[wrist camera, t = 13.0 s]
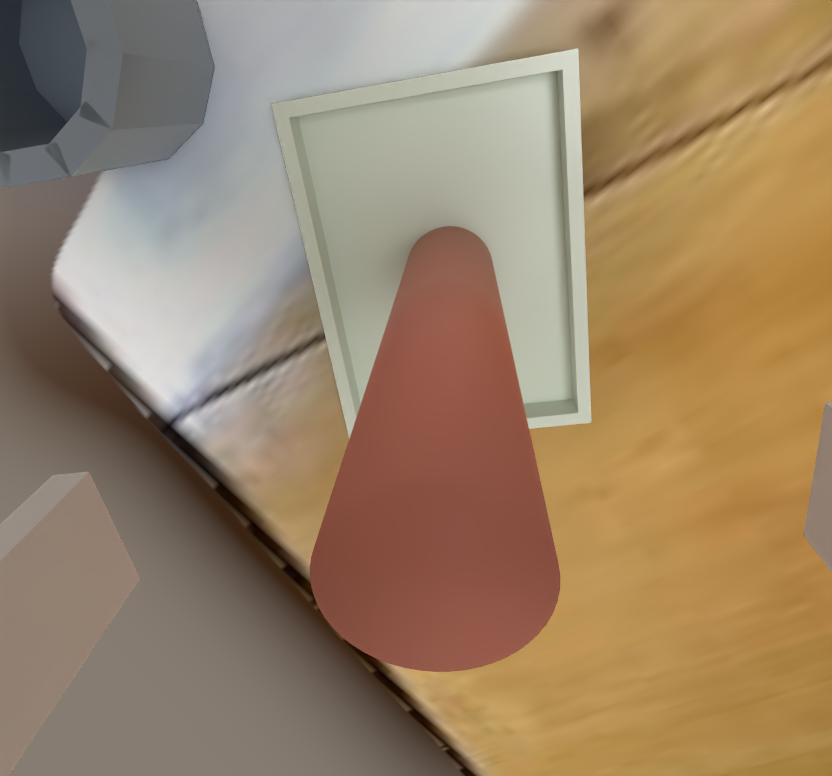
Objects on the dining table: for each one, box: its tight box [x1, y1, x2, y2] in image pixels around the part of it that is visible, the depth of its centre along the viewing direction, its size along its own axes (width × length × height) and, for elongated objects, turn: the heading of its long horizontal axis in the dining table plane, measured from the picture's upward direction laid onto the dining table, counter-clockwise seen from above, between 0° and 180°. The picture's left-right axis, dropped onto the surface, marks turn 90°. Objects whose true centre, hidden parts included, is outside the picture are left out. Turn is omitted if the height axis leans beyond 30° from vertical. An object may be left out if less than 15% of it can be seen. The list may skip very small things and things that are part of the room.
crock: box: [0, 0, 214, 187], centre depth 22 cm, size 9×9×8 cm
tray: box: [271, 49, 591, 439], centre depth 27 cm, size 16×12×2 cm
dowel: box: [310, 226, 560, 672], centre depth 18 cm, size 4×4×20 cm
